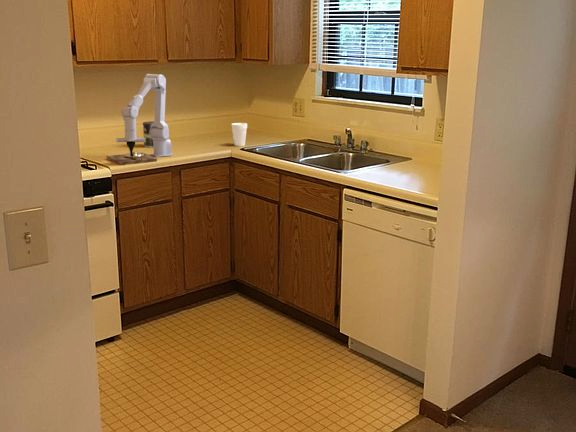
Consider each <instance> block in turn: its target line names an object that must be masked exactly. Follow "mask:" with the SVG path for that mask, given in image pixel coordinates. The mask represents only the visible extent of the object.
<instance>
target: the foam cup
mask: <svg viewBox="0 0 576 432" xmlns="http://www.w3.org/2000/svg"><path fill="white" fill-rule="evenodd" d="M247 130H248V123H246V122H234V123H231V131H232V138H233V144H234V146H235V147H244V146H245V145H246V139H247V138H246V137H247Z"/></svg>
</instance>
